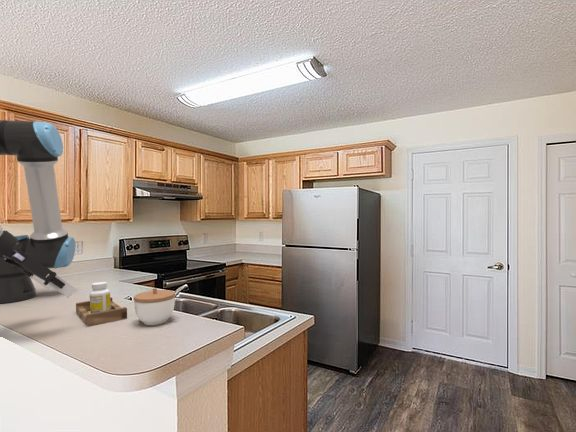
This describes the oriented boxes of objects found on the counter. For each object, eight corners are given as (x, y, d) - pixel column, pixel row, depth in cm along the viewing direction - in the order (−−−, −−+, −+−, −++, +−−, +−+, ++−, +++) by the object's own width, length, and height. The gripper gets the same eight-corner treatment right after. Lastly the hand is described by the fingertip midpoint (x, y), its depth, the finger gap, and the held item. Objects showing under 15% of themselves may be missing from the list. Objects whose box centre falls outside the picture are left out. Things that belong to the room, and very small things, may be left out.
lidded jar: (159, 314, 101) (158, 283, 101) (183, 319, 95) (183, 286, 95) (126, 324, 92) (125, 290, 92) (151, 330, 86) (150, 294, 86)
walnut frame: (76, 312, 104) (75, 303, 104) (111, 306, 111) (111, 297, 111) (87, 326, 91) (87, 315, 90) (127, 318, 97) (126, 308, 97)
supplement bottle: (106, 311, 105) (105, 280, 104) (114, 314, 101) (112, 282, 101) (87, 316, 100) (86, 283, 100) (94, 319, 97) (93, 285, 97)
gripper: (-34, 249, 87) (37, 295, 99) (-13, 255, 71) (69, 309, 83) (-8, 228, 91) (58, 274, 103) (18, 229, 75) (91, 284, 87)
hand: (63, 290), depth 93 cm, fingers open, 13 cm apart
